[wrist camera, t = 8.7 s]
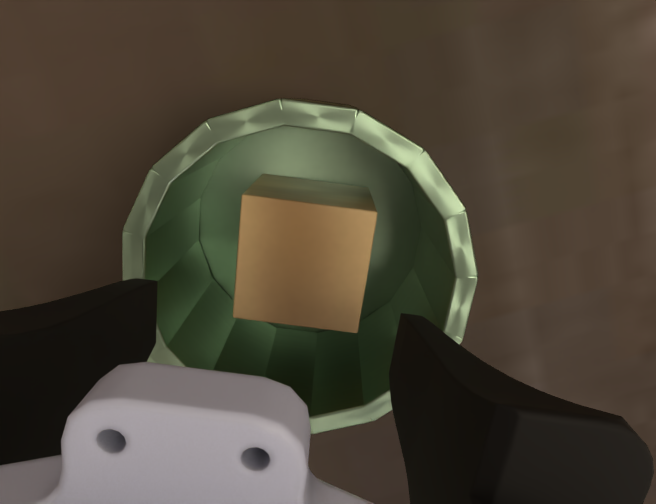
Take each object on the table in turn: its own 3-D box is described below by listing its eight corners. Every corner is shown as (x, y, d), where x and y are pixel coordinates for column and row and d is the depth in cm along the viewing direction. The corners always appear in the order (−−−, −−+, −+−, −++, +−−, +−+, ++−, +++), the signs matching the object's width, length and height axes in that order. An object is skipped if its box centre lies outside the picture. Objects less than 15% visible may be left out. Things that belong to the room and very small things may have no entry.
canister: (457, 119, 19) (515, 130, 13) (409, 353, 22) (436, 450, 16) (191, 83, 18) (119, 75, 12) (182, 325, 22) (122, 413, 16)
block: (369, 187, 19) (378, 212, 15) (353, 286, 21) (357, 334, 16) (261, 172, 19) (240, 193, 15) (253, 273, 20) (231, 318, 16)
